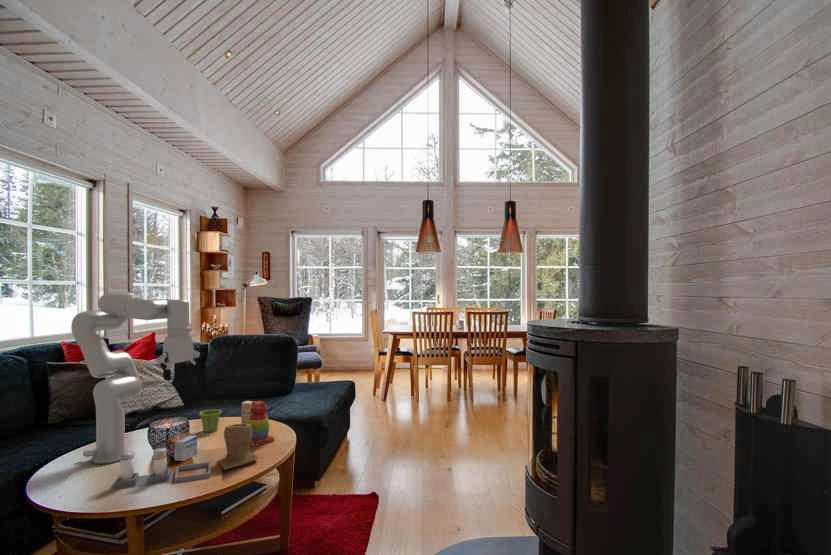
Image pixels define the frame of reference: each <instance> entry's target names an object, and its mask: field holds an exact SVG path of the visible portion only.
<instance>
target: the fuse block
mask: <svg viewBox="0 0 831 555" xmlns="http://www.w3.org/2000/svg"><path fill="white" fill-rule="evenodd" d="M171 469H172V468H170V467H169V468H168V467H167V474H165V475H157V476H154V469H153V470H151V471H150V474H145V475H140V474H139V472H134V479H129V480H121V481H120V474H119V475H118V476H117V478H116V479H115V481H114V483H113V485H112V487H111V489H110V492H112V491H121V490H126V489H127V490H128V489H135V488H141V487H142V488H143V487H149V486H155V485H156V486H157V485H161V484H162V485H163V484H169V483H172V482H173V479H174V475H175V471H172V470H171Z"/></svg>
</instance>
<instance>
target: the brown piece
mask: <svg viewBox="0 0 831 555" xmlns="http://www.w3.org/2000/svg"><path fill="white" fill-rule="evenodd" d="M223 431H224V432H223V438H224V442H225V447H226V452H227V453H226V455H225V456H224V457H223V458H221V459H219V460H217V464H219V465H220V467H221V470H222V471H225V470H229V469H233V468H236V467H237V468H238V467H240V466H243V465H247V464H248V463H251V462H255V461H256V460H258V459H259V457H258V456H257V455H256V454H254V453H251V451H250V447H251V445H250V443H251V440H252V426H251V425H250V424H241V423H236V424H229V425H226V426H225V428H224V430H223Z"/></svg>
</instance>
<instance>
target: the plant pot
mask: <svg viewBox="0 0 831 555" xmlns="http://www.w3.org/2000/svg"><path fill="white" fill-rule="evenodd" d="M221 413H222V410H221V409H206V410H202V411H200V412H199V416H200V418H201V424H202V429H203V430H202V431H203V432H204V433H213V431H214V432H216V431H217V430H218V427H219V421H220V416H221Z"/></svg>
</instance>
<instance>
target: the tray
mask: <svg viewBox="0 0 831 555" xmlns="http://www.w3.org/2000/svg"><path fill="white" fill-rule="evenodd" d="M211 463H212V462H211V461H206V462H198V463H191V464H183V465H177V466H176V468H175V469H176V470H175V472H174V476H173V482H174V483H179V482H186V481H187V482H189V481H194V480H195V481H196V480H201V479H202V480H203V479H207V478H208V479H209V478H211V468H212V467H211ZM202 468H208V471H207V472H203V473H202V472H201V473H196V474H195V473H194V474H189V475H182V476H179V472H181V471H189V470H194V469H202Z"/></svg>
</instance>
